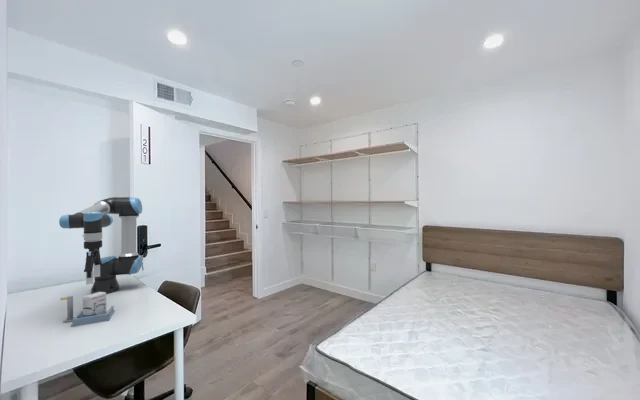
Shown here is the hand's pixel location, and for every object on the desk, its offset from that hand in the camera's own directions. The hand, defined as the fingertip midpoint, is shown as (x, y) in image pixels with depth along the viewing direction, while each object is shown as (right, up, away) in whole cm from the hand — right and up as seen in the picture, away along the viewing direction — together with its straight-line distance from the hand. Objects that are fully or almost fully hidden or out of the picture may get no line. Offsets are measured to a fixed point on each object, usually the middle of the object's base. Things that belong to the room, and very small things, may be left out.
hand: (93, 280), depth 142 cm
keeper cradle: (0, -19, -4) cm, 20 cm away
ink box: (+2, -19, -2) cm, 19 cm away
